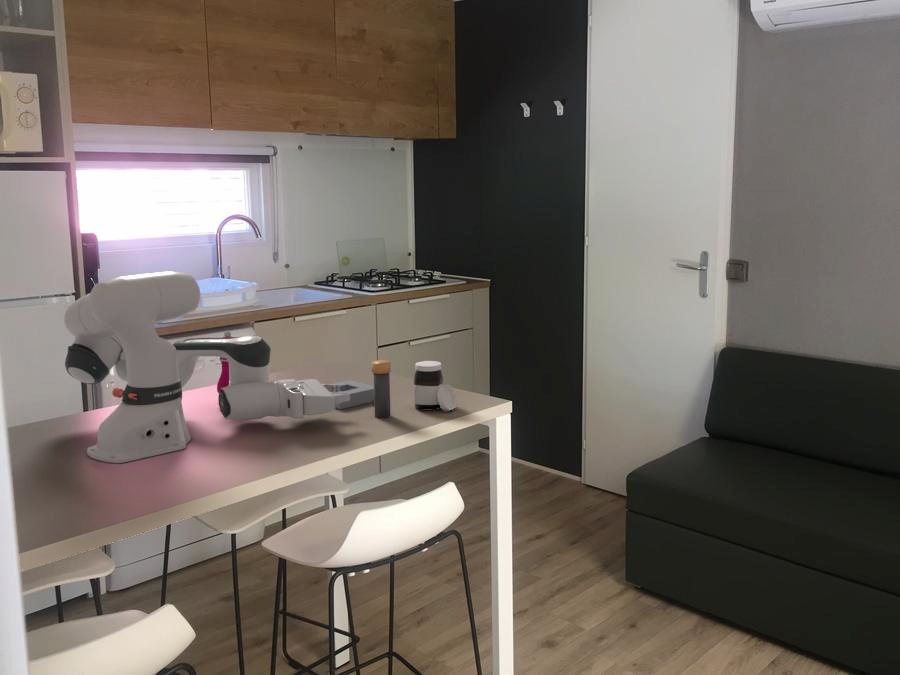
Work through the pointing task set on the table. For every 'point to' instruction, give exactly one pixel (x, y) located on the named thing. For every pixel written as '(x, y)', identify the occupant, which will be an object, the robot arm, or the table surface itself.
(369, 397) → the socket
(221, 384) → the pepper mill
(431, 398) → the spread jar
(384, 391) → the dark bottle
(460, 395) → the table surface
